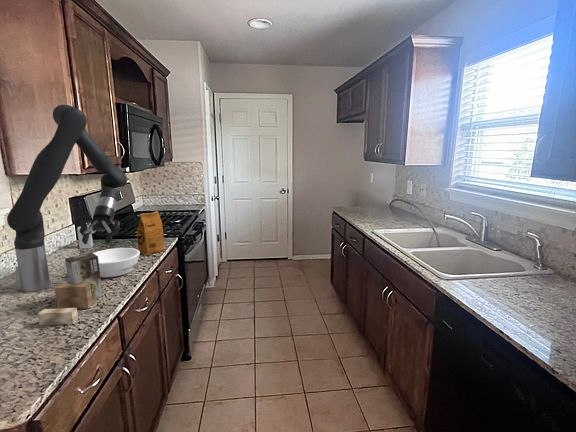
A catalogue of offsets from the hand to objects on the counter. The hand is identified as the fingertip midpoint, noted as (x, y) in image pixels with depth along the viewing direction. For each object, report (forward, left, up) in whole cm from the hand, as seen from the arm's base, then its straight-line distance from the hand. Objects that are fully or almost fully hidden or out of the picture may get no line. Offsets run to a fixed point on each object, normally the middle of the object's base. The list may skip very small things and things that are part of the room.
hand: (96, 243), depth 130 cm
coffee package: (+6, +46, -18) cm, 50 cm away
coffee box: (0, -11, -18) cm, 22 cm away
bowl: (-1, +15, -18) cm, 24 cm away
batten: (0, -29, -18) cm, 34 cm away
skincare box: (-33, +58, -18) cm, 69 cm away
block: (0, -18, -18) cm, 25 cm away
